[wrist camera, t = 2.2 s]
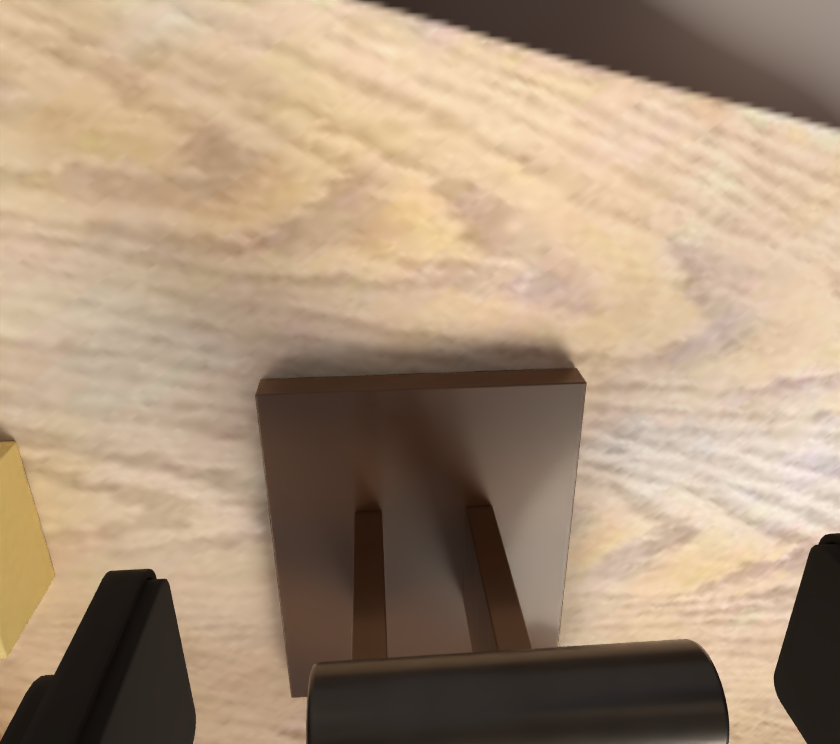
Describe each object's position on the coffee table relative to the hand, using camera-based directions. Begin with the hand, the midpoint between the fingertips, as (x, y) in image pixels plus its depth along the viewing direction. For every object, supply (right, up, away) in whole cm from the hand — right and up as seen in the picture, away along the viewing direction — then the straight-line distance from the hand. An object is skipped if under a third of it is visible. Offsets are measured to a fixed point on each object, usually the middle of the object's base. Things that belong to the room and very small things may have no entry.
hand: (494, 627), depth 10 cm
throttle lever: (0, -3, +4) cm, 5 cm away
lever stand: (-1, -3, +17) cm, 17 cm away
